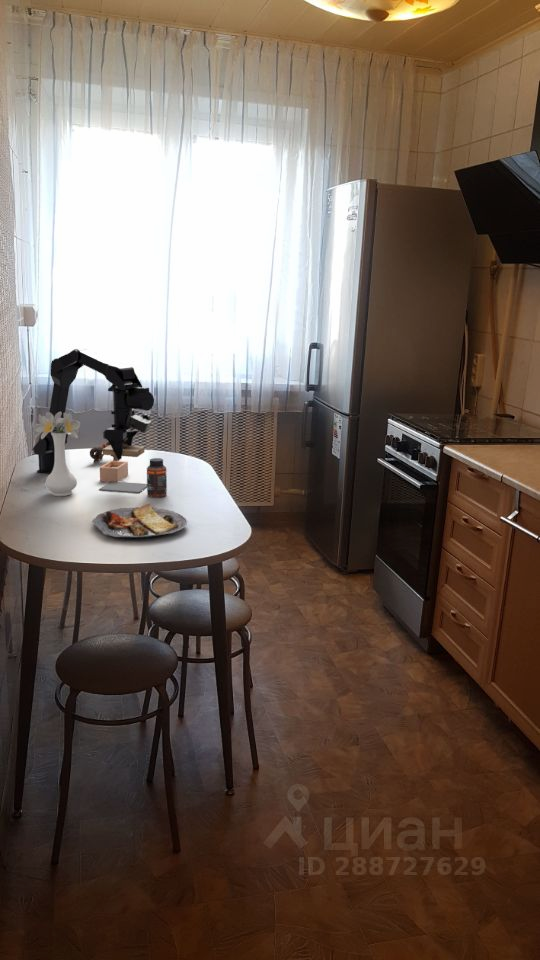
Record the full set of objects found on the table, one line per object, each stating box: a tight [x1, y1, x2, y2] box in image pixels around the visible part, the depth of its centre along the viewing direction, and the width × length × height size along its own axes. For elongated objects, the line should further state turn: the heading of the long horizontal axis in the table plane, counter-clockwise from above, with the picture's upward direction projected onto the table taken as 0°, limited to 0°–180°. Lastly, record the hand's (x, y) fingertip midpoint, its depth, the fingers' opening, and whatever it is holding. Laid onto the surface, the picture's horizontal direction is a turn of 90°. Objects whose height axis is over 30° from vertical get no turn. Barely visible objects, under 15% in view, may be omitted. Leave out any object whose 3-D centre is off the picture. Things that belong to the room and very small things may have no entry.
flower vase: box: [33, 411, 81, 497], centre depth 230 cm, size 13×18×25 cm
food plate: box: [91, 503, 188, 539], centre depth 203 cm, size 25×23×4 cm
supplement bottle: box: [146, 457, 168, 498], centre depth 233 cm, size 6×6×11 cm
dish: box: [99, 460, 129, 483], centre depth 253 cm, size 6×10×4 cm, turn 171°
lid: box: [102, 444, 145, 458], centre depth 239 cm, size 7×11×3 cm, turn 81°
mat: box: [98, 481, 147, 494], centre depth 242 cm, size 13×10×1 cm
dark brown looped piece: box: [89, 441, 121, 463], centre depth 273 cm, size 12×10×8 cm
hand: (123, 456), depth 239 cm, fingers closed on lid, 7 cm apart
